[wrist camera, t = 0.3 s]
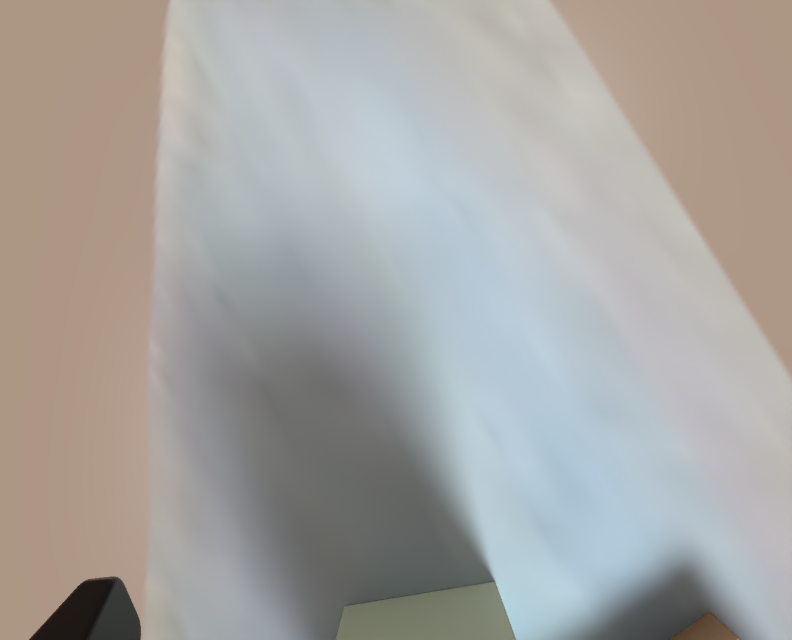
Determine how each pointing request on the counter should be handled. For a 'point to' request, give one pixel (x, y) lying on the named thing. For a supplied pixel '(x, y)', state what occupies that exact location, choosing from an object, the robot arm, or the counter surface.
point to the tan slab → (706, 630)
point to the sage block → (430, 616)
